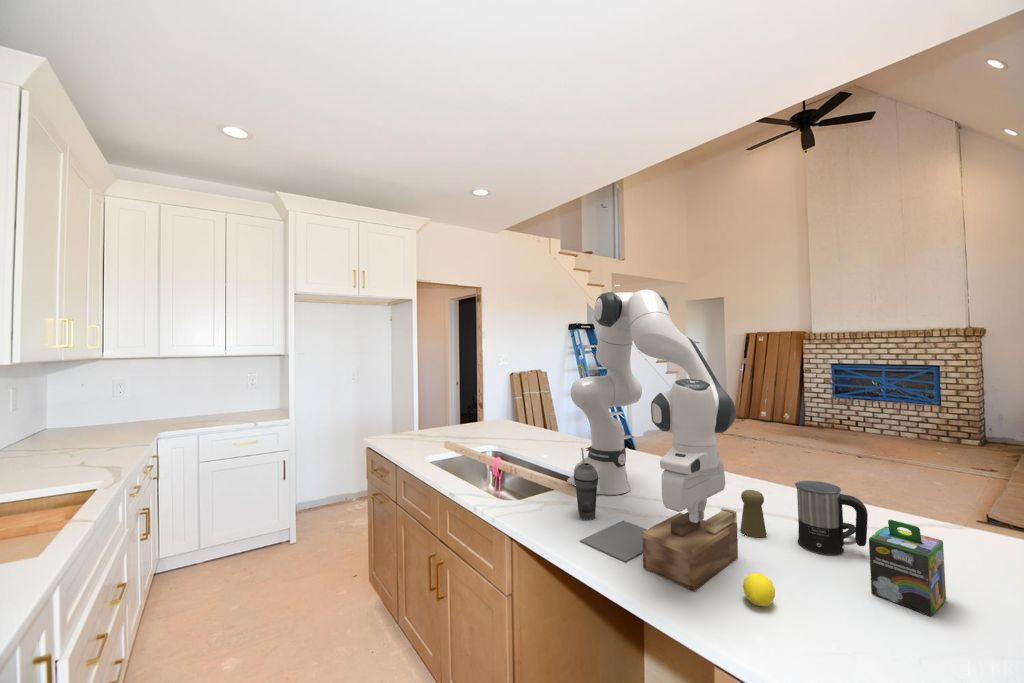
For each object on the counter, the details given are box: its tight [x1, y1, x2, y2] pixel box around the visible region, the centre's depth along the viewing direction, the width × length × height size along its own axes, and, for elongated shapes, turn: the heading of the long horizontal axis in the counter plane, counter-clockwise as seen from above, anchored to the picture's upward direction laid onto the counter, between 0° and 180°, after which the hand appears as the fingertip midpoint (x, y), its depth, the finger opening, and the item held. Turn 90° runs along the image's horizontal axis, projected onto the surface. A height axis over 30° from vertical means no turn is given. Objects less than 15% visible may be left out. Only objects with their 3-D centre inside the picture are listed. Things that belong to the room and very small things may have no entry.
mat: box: [579, 520, 648, 564], centre depth 110 cm, size 14×18×1 cm
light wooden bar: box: [704, 507, 738, 534], centre depth 98 cm, size 3×10×3 cm, turn 129°
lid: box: [642, 511, 729, 557], centre depth 97 cm, size 12×16×5 cm
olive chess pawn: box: [739, 489, 768, 539], centre depth 112 cm, size 6×6×11 cm
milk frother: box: [794, 480, 868, 556], centre depth 107 cm, size 14×16×15 cm
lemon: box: [742, 572, 776, 607], centre depth 83 cm, size 7×5×5 cm
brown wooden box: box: [642, 522, 739, 592], centre depth 98 cm, size 12×20×8 cm, turn 129°
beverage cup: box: [573, 447, 599, 521], centre depth 125 cm, size 7×7×20 cm
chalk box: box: [868, 519, 947, 617], centre depth 84 cm, size 9×9×15 cm
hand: (696, 520), depth 92 cm, fingers closed
